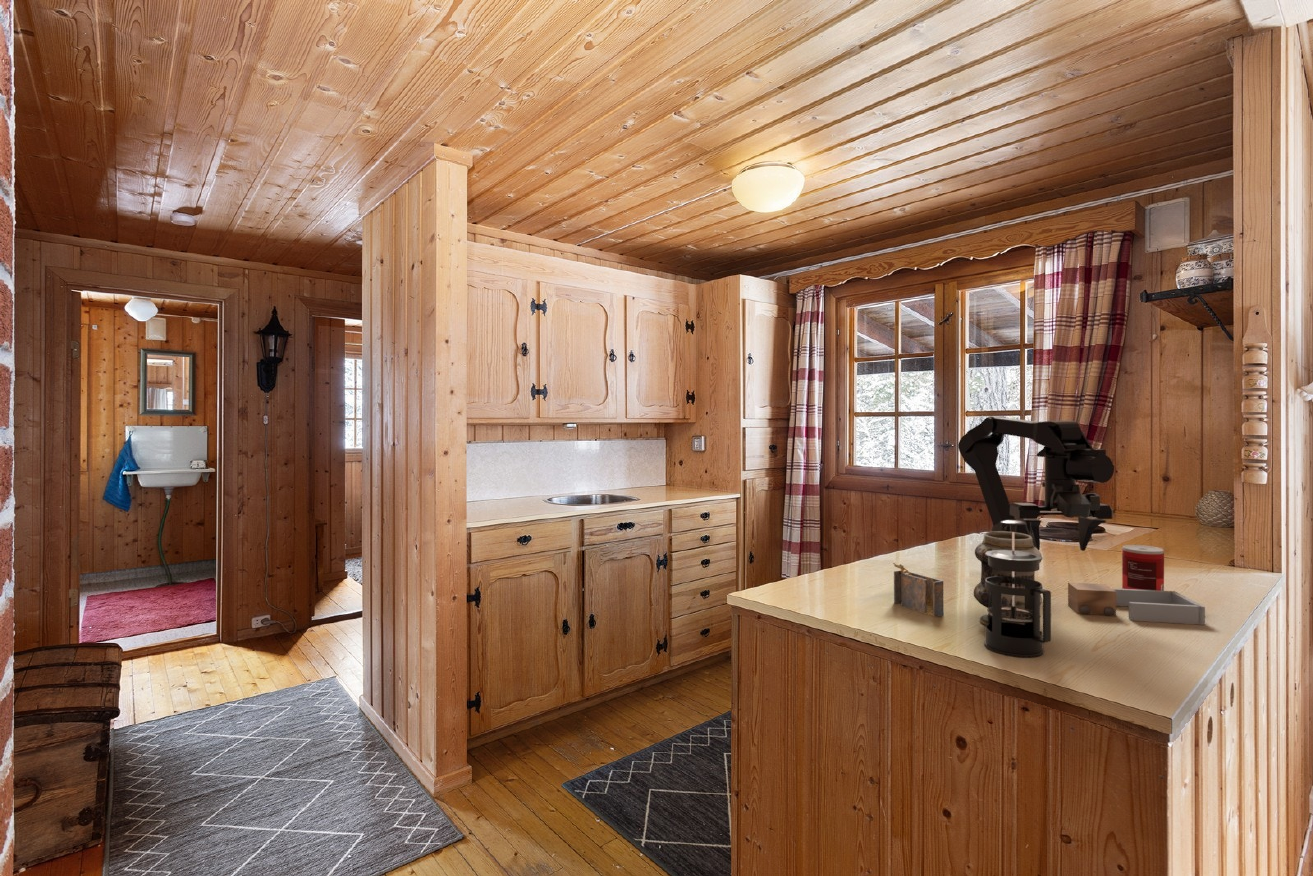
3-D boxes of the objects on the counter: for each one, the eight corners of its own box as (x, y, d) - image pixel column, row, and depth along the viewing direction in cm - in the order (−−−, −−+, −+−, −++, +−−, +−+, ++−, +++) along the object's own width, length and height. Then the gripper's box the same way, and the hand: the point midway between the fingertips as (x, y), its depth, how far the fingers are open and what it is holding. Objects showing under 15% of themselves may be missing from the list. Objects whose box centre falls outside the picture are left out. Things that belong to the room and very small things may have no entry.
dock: (1130, 620, 131) (1130, 603, 131) (1107, 603, 142) (1107, 588, 142) (1204, 624, 127) (1205, 607, 127) (1174, 607, 139) (1175, 591, 139)
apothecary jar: (1016, 637, 122) (1016, 542, 121) (960, 620, 132) (960, 533, 132) (1055, 627, 127) (1055, 536, 127) (998, 611, 138) (998, 527, 138)
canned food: (1149, 591, 152) (1149, 544, 151) (1172, 600, 144) (1173, 551, 144) (1114, 591, 153) (1114, 544, 152) (1136, 600, 145) (1136, 551, 144)
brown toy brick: (1078, 614, 135) (1078, 590, 135) (1067, 604, 142) (1067, 581, 142) (1117, 616, 134) (1117, 592, 133) (1103, 606, 140) (1103, 583, 140)
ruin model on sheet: (892, 605, 146) (892, 562, 145) (902, 603, 147) (902, 561, 147) (932, 619, 135) (932, 572, 135) (943, 617, 136) (943, 571, 136)
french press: (969, 643, 119) (968, 518, 119) (1004, 635, 123) (1003, 514, 123) (1029, 664, 109) (1029, 528, 108) (1065, 655, 113) (1065, 523, 112)
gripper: (1031, 482, 134) (1031, 558, 134) (1129, 482, 131) (1128, 558, 132) (1008, 477, 145) (1008, 547, 145) (1098, 477, 142) (1098, 547, 143)
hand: (1059, 550), depth 141 cm, fingers open, 9 cm apart
